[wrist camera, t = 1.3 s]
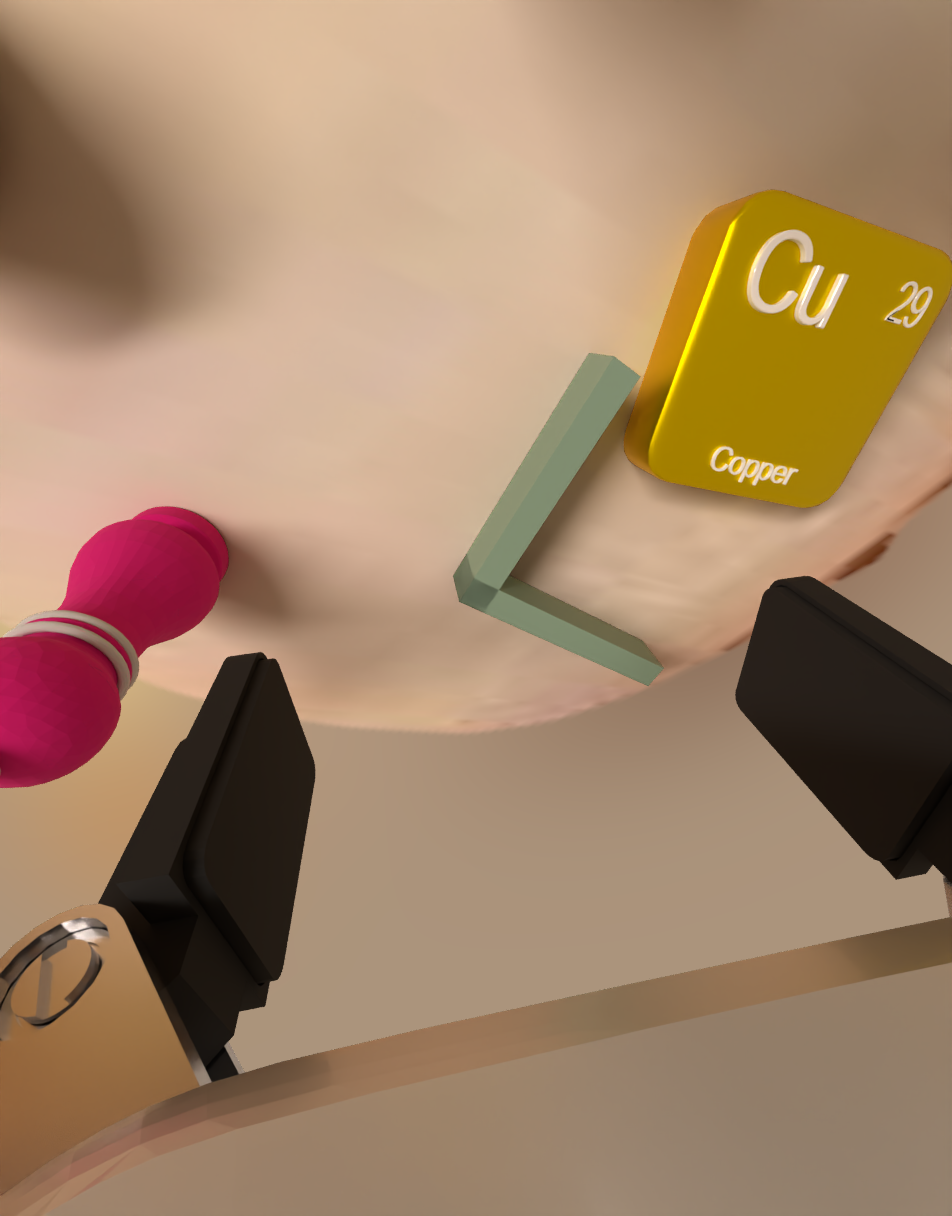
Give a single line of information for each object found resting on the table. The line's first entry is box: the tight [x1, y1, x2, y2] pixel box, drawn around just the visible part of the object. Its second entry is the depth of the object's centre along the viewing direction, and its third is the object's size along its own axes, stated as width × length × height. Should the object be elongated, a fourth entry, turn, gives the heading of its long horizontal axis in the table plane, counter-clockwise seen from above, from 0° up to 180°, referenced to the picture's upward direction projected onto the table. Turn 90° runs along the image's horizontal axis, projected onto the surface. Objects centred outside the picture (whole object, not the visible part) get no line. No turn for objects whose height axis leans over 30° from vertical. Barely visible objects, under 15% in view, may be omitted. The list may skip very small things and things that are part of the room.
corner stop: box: [453, 353, 664, 686], centre depth 35 cm, size 17×18×4 cm
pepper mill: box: [0, 506, 229, 788], centre depth 24 cm, size 7×7×20 cm
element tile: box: [624, 190, 952, 508], centre depth 30 cm, size 15×15×5 cm
